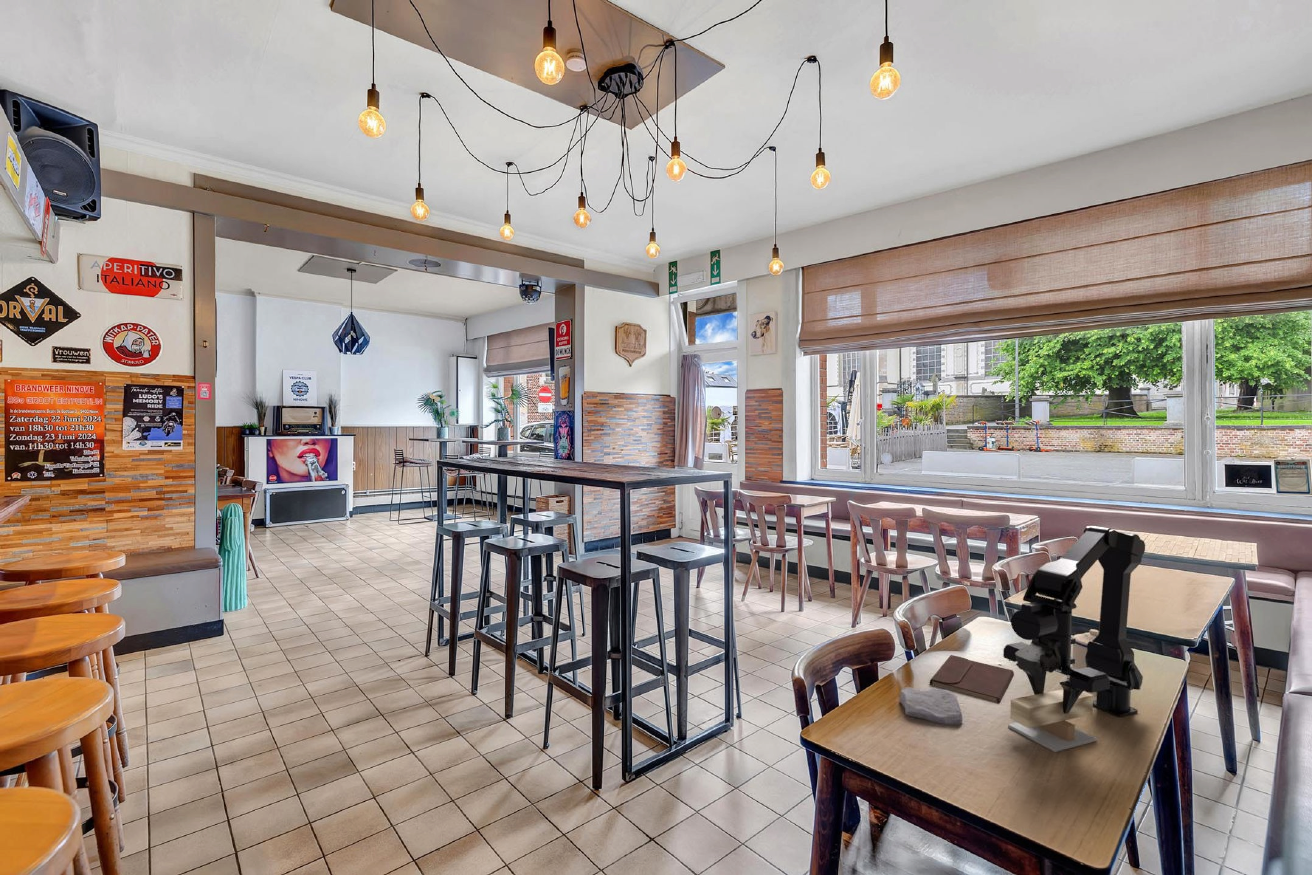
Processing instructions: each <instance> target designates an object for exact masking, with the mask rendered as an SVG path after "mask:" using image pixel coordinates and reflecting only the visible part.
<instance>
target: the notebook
mask: <svg viewBox="0 0 1312 875" xmlns="http://www.w3.org/2000/svg"><path fill="white" fill-rule="evenodd" d="M1014 675H1015V672H1014V671H1013V670H1012V669H1009V668H1005V667H1000V666H997V665H992V664H987V663H983V662H979V661H975V660H970V659H968V658H965V657H962V656H958V655H954V654H950V655H949V656H948V657H947V659H946V660H945V661H944V663H943V664H942V665H941V666H940V667H939V669H938V670H937V671H936V673H934V675H933V676H932V677H931V679H929V685H933V686H934V687H935V686H936V687H939V688H941V689H942V688H943V689H945V690H949V691H954V692H958V693H962V694H965V695H970V696H973V697H976V698H980V699H983V700H988V701H992V702H996V703H998V704H999V703H1000V702H1001V701H1002V699H1003V697H1004V694H1005V693H1006V690H1008V689H1007V688H1008V687H1009V684H1010V683H1011V681H1012V679H1013V676H1014Z"/></svg>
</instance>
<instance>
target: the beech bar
mask: <svg viewBox="0 0 1312 875" xmlns="http://www.w3.org/2000/svg"><path fill="white" fill-rule="evenodd" d="M1093 701H1094V694H1092V693H1090V692H1086V691H1083V692H1082V693H1081V695H1080V696H1079V698H1078V699H1077V701H1076V702H1075V704H1074V705H1073V707H1072V709H1071V710H1070V712H1069V713H1067V714H1065V713H1063V688H1062V689H1056V690H1051V691H1047V692H1044V693H1041V694H1036V695H1034V694H1031V695H1027V696H1021V697H1015V698H1011V699H1010V714H1009V715H1010V717H1009V718H1010V720H1012V721H1014V723H1016V722H1017V723H1019V724H1021V725H1023V726H1025V727H1027V728H1032V727H1037V726H1041V725H1046V724H1051V723H1055V722H1060V721H1064V720H1065V721H1068V720H1072V719H1073V720H1074V719H1077V718H1082V717H1086V716H1092V715H1093V713H1094V712H1093V711H1094V710H1093V709H1094V706H1093Z"/></svg>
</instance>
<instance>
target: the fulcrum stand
mask: <svg viewBox="0 0 1312 875" xmlns="http://www.w3.org/2000/svg"><path fill="white" fill-rule="evenodd" d="M1007 727H1008V728H1009V729H1010V730H1012V731H1015V733H1016V732H1017V733H1018V734H1020V735H1022V736H1024V737H1025V738H1027V739H1029V740H1031V741H1033V742H1035V743H1037V744H1039V745H1041V746H1043V747H1045V748H1046V749H1048V750H1051V751H1052V752H1054V753H1056V752H1061V751H1064V750H1067V749H1071V748H1075V747H1078V746H1083V745H1086V744H1089V743H1093V742H1097V737H1096V736H1094V735H1092V734H1090V733H1088V732H1085V731H1083V730H1081V729H1080V728H1079V729H1078V728H1077V727H1076V725H1075V724H1073V723H1072V722H1070V721H1068V720H1064V721H1060V722H1055V723H1051V724H1046V725H1041V726H1037V727H1032V728H1027V727H1025V726H1023V725H1021V724H1019V723H1017V722H1012V723H1009V724H1007Z"/></svg>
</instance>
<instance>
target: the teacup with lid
mask: <svg viewBox="0 0 1312 875" xmlns="http://www.w3.org/2000/svg"><path fill="white" fill-rule="evenodd" d="M1098 634H1099V630H1097V629H1092V628H1091V629H1090V630H1089V632H1084V633H1078V634H1074V635H1073V636H1072V638H1075V639H1076V643H1075V644H1072V658H1074V659H1075V664H1071V667H1073V668H1075V669H1081V668H1086V667H1087V666H1086V661H1085V656H1086V653H1087V644H1088V642H1089V641H1093V640H1094V639H1095V638H1096V637H1097V635H1098Z"/></svg>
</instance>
